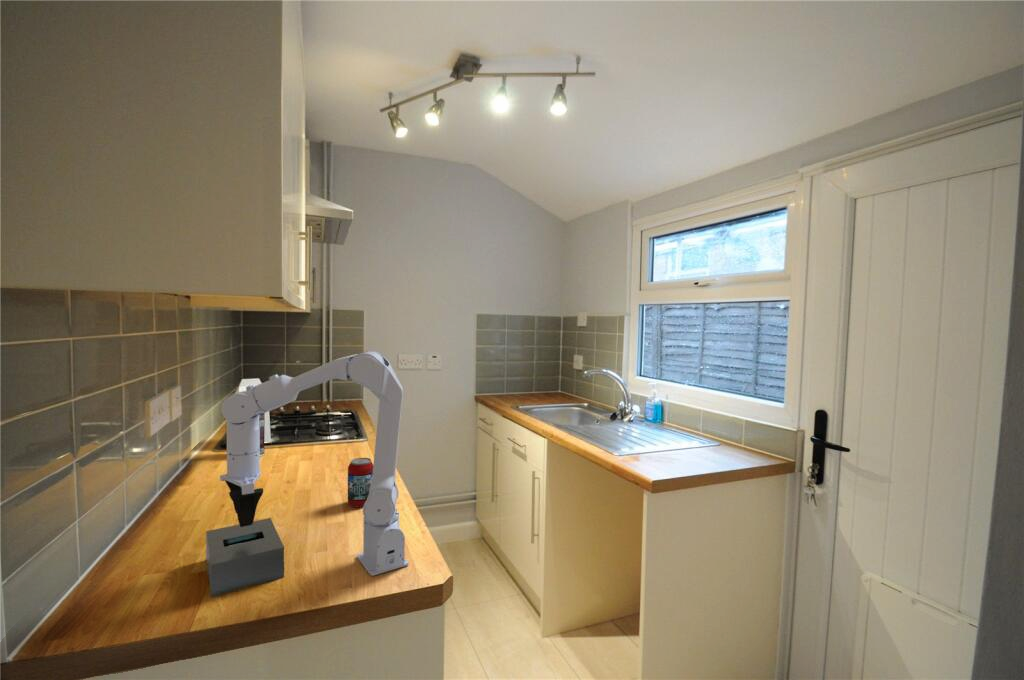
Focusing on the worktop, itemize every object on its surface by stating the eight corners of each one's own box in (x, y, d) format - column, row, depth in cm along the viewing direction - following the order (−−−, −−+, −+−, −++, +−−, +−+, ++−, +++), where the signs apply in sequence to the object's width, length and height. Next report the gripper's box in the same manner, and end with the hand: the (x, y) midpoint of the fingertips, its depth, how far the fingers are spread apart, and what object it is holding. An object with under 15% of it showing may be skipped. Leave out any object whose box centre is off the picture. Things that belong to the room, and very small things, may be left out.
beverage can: (346, 509, 124) (346, 465, 123) (348, 500, 130) (348, 457, 130) (373, 507, 126) (373, 463, 125) (373, 498, 132) (374, 456, 132)
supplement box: (235, 456, 168) (235, 412, 168) (246, 452, 173) (246, 410, 172) (254, 458, 166) (254, 414, 165) (265, 455, 171) (265, 412, 170)
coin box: (284, 577, 91) (284, 547, 91) (211, 597, 84) (210, 564, 84) (270, 544, 104) (270, 517, 104) (206, 559, 97) (206, 531, 97)
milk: (264, 439, 193) (263, 376, 192) (271, 445, 184) (270, 379, 183) (230, 443, 185) (230, 378, 184) (236, 450, 176) (235, 381, 175)
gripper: (217, 445, 97) (217, 510, 97) (223, 464, 85) (223, 537, 86) (255, 441, 101) (255, 503, 101) (266, 458, 89) (266, 527, 90)
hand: (243, 518), depth 94 cm, fingers open, 7 cm apart
